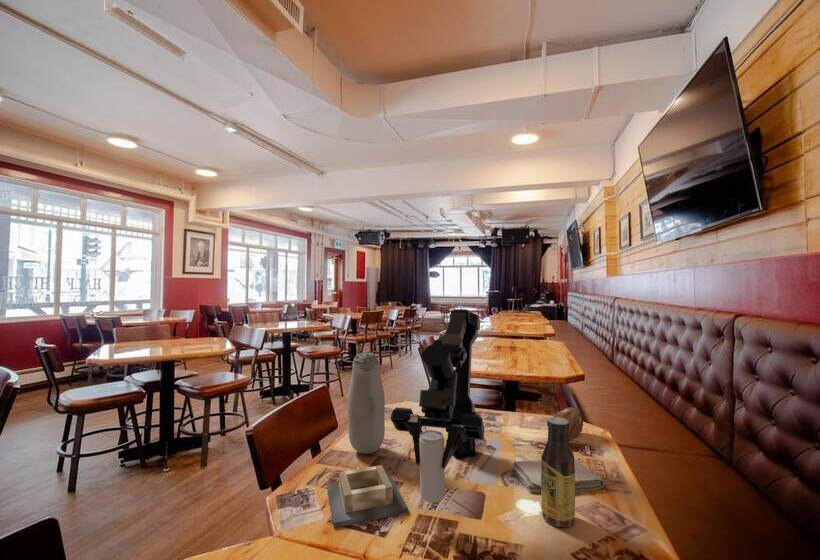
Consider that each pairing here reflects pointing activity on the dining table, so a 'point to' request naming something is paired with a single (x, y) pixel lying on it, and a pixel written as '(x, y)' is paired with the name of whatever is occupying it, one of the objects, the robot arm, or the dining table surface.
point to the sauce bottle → (558, 475)
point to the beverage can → (432, 466)
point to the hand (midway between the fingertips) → (430, 466)
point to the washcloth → (532, 476)
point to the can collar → (364, 496)
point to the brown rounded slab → (572, 421)
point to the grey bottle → (366, 404)
